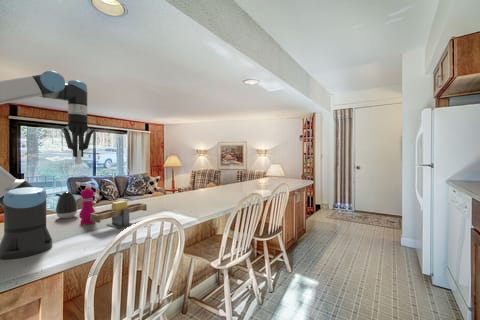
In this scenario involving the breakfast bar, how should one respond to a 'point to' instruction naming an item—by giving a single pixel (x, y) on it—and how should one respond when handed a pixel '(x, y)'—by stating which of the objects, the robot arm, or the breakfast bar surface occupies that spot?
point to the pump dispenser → (66, 205)
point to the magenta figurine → (86, 206)
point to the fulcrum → (121, 220)
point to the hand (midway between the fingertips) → (78, 163)
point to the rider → (119, 205)
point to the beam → (115, 212)
